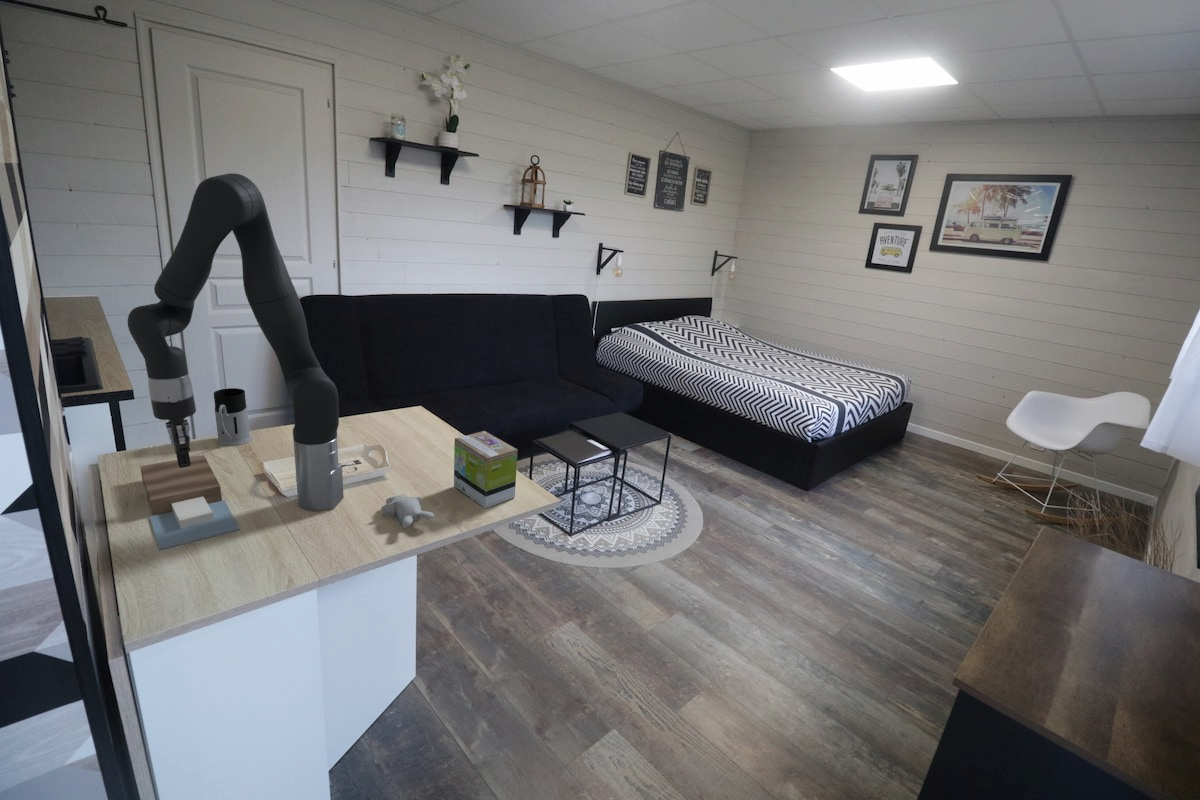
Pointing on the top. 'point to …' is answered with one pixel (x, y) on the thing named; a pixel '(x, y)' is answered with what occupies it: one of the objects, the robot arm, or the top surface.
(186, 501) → the white rectangular block
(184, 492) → the deck
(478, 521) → the top surface
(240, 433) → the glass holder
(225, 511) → the mat
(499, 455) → the tea box
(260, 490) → the top surface
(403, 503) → the grey animal figure
